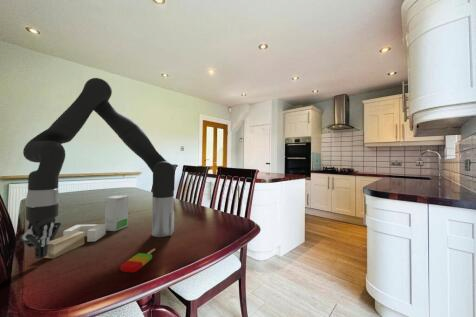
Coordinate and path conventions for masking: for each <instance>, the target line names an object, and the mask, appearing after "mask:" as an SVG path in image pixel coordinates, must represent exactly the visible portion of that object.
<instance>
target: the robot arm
mask: <svg viewBox="0 0 476 317" xmlns="http://www.w3.org/2000/svg"><path fill="white" fill-rule="evenodd" d="M112 95H113V90H112V87H111V85H110V83H109V82H107V81H106V80H104V79H102V78H99V77H93V78H90V79H88V80H87V81H86V82H85V84H84V86H83V88H82V90H81V92H80V93H79V95H78V96H77V97H76V99H75V100H74V101H73V102H72V104H70V106H68V107H67V108H66V109H65V111H63V113H61V114H60V115H59V116H58V118H56V120H54V122H53V123H52V124H51V125H50V126H49V127H48V128H47V129H45V130H43V131H42V132H40V133H38V134H37V135H36V136H34V137H33V138H31V139H30V140H29V141H27V143H26V144H25V145H24V148H23V151H22V154H23V157H24V158H25V160H27V161H29V162H31V163H39V164H38V168H37V170H33V171H31V172H30V173H29V174H28V179H27V180H28V181H27V192H26V193H27V194H26V199H25V220H26V221H28V225H27V230H26V232H25V233H24V234H20V235H19V239H20V240H21V242H22V243H23V244H25V246H27V247H28V248H34V257H35V259H43V258H45V256H47V248H48V244H49V242H50V241H53V240H55V236H56V234H57V233H58V231H59V229H60V227H61V225H62V223H61V222H58V221H56V217H58V216H59V202H60V201H59V200H60V193H59V180H60V179H59V175H60V173H61V171H62V169H63V165H64V162H65V160H66V150H65V147H64V145H63V144H66V143H69V142H71V141H72V140H73V139H74V138H75V136H77V134H78V133H79V132H80V131H81V129H83V126H84V125H85V124H86V122H87V121H88V119H89V117H90V116H91V114H92V113H93V112H95V113H96V114H97V115H98V116H99V117H101V119H102V120H103V121H104V122H105V123H106V124H107V125H108V126H109V128H111V130H112V131H113V132H114V133H115V134H116V135H117V136H118V138H119V139H120V140H121V141H122V142H123V144H125V145H126V147H128V148H129V150H131V151H132V152H133V153H134V154H135V155H137V157H139V158H140V159H141V160H142V161H143V162H144V163H145V164H146V165H147V167H148V168H149V170H150V171H151V173H152V198H151V199H152V205H151V208H152V209H151V236H152V237H155V238H162V237H163V238H164V237H168V236H173V233H174V232H175V210H174V204H175V203H174V202H175V201H174V199H175V198H174V197H175V195H174V194H175V186H176V185H175V180H176V179H175V178H176V170H175V166H174V165H173V163H172V164H171V163H170V162H169V161H167V160H166V159H165V158H164V157H163V156H162V154H160V153H159V151H158V150H156V148H155V146H154V145H153V143H152V141H151V140H150V138H149V137H148V135H147V134H146V133H145V131H143V129H141V127H140V126H139V125H138V123H136V122H135V121H134V120H132V119H130V118H129V117H126V116H124V115H123V114H122V113H120V112H118V111H117V109H115V107H114V106H113V105H112V104H111V103H110V99H111V97H112Z"/></svg>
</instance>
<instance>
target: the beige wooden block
mask: <svg viewBox="0 0 476 317" xmlns="http://www.w3.org/2000/svg"><path fill="white" fill-rule="evenodd" d="M84 234H85V232H80V231H76V232H73V233H71V234H68V235H66V236H61V237H59V238H56V239H55V238H54V239H53V240H50V241H49V244H48V248H47V256H45V257H44V258H46V259H55V258H58V257H59V256H60V257H61V255H64V254H65V253H68V252H70V251H72V250H75V249H77V248H78V247H80V246H83V245H85V236H84Z"/></svg>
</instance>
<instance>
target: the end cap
mask: <svg viewBox="0 0 476 317" xmlns="http://www.w3.org/2000/svg"><path fill="white" fill-rule="evenodd" d="M76 231H80V232H85V234H84V237H86V240H87V242H96V241H98V240H100V239H101V238H103V237H104V236H105V235H106V232H107V230H106V224H105V223H101V224H94V223H93V224H91V223H90V224H75V225H73V226H72V227H69V228H67V229H65V230H63V231H62V232H63V234H62V235H63V236H66V235H68V234H71V233H73V232H76ZM63 236H62V237H63Z"/></svg>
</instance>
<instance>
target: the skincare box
mask: <svg viewBox="0 0 476 317" xmlns="http://www.w3.org/2000/svg"><path fill="white" fill-rule="evenodd" d="M104 199H105V202H104V203H105V206H104V207H105V210H104V224H106V232H107V231H108V232H110V231H111V232H116V231H120V230H123V229H125V228H127V227H129V226H128V225H129V220H128V219H129V195H112V196H108V197H105V198H104Z"/></svg>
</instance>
